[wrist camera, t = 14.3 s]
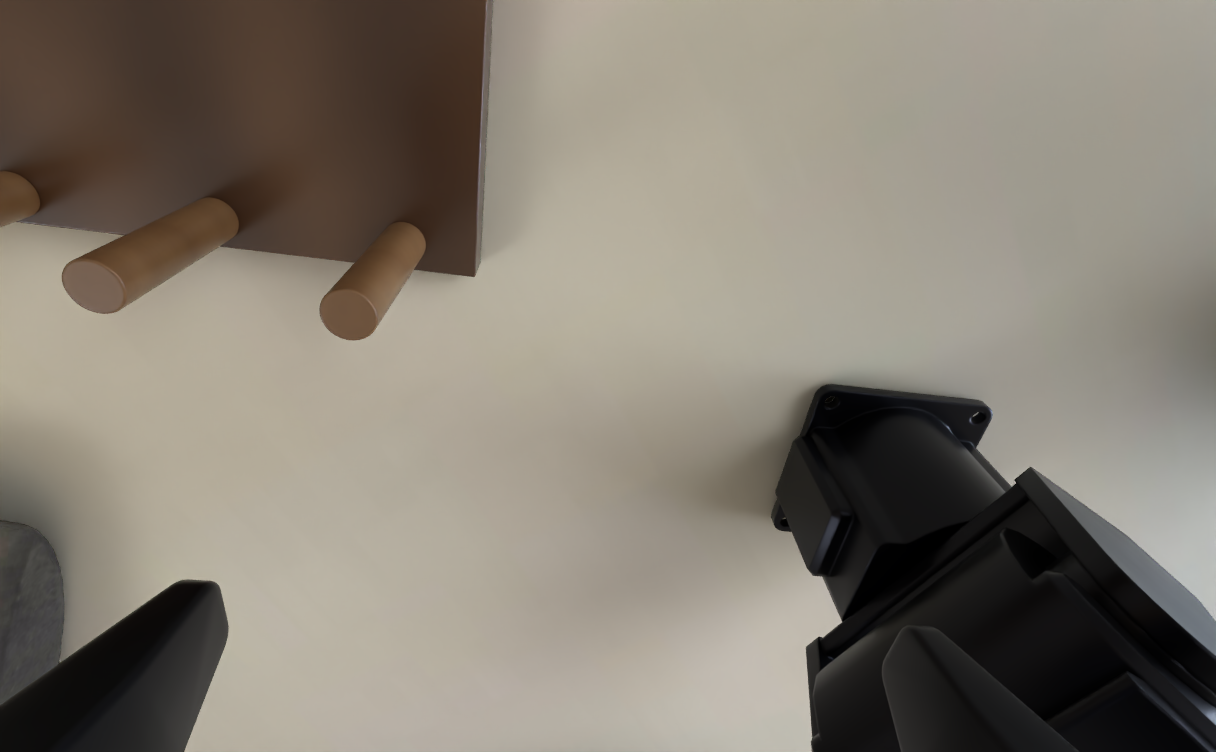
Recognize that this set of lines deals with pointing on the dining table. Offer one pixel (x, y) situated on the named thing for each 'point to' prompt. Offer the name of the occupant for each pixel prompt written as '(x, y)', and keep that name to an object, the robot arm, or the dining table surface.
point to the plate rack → (249, 138)
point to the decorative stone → (28, 607)
